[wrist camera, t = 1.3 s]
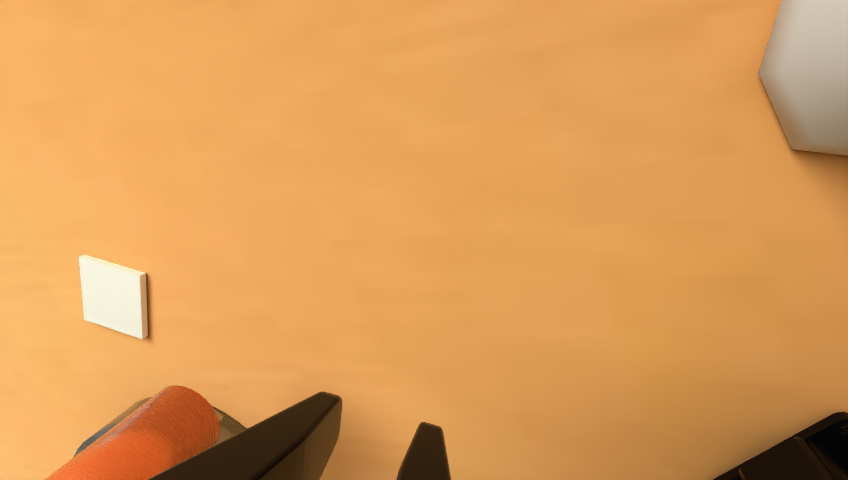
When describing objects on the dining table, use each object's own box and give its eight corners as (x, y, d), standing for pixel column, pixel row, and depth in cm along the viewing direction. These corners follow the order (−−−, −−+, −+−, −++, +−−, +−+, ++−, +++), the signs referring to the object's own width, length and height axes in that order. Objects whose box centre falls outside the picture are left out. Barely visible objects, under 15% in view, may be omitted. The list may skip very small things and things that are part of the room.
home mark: (145, 273, 25) (139, 275, 24) (147, 335, 26) (142, 339, 26) (85, 254, 26) (78, 256, 25) (90, 316, 27) (84, 319, 27)
